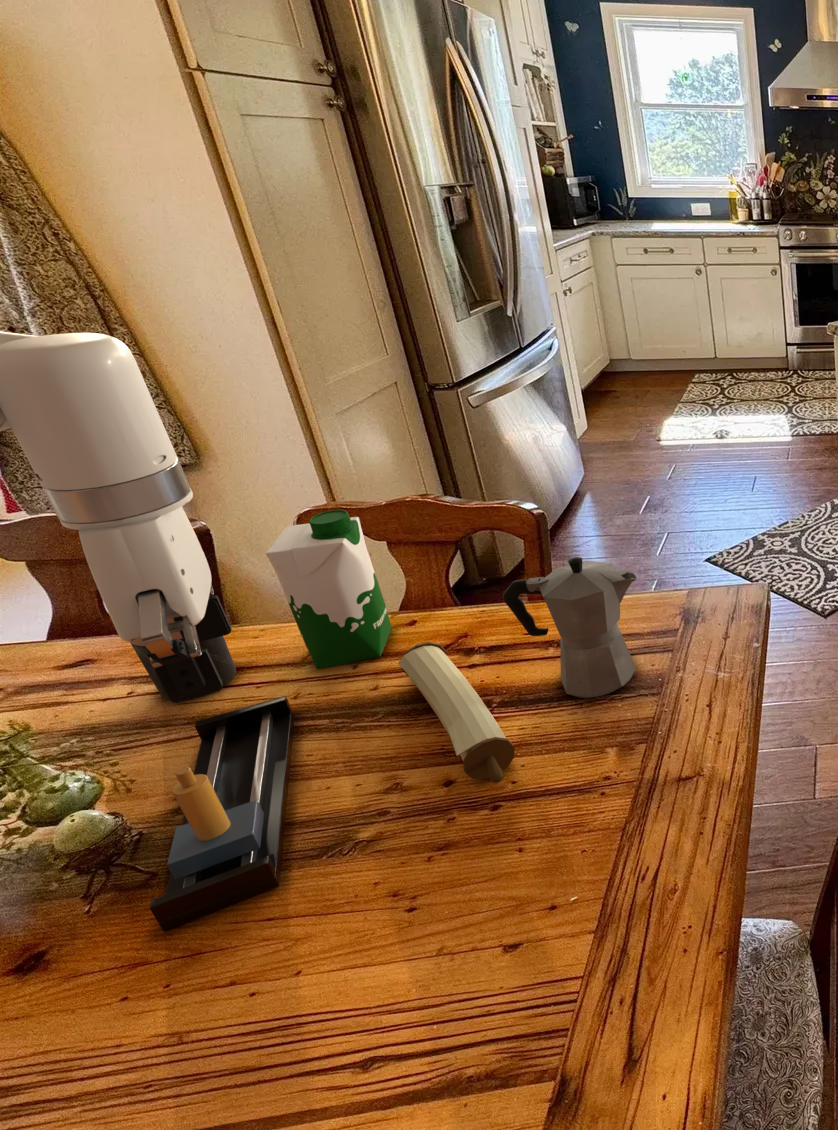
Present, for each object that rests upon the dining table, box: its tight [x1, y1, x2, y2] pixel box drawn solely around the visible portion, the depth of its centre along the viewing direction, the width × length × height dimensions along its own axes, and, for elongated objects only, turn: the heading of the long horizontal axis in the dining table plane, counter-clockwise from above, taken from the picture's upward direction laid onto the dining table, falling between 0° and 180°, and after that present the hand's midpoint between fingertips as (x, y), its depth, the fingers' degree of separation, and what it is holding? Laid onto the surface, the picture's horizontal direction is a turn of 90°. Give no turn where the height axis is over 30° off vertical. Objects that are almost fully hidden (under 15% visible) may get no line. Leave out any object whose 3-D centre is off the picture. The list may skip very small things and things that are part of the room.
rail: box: [149, 695, 295, 932], centre depth 80 cm, size 8×28×3 cm, turn 36°
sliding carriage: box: [166, 766, 264, 879], centre depth 72 cm, size 6×5×10 cm
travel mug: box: [129, 618, 237, 702], centre depth 93 cm, size 8×8×20 cm
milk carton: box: [265, 509, 393, 670], centre depth 101 cm, size 9×9×20 cm
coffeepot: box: [502, 556, 638, 699], centre depth 97 cm, size 15×9×18 cm, turn 104°
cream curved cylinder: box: [397, 641, 515, 784], centre depth 92 cm, size 32×6×5 cm, turn 46°
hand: (204, 665), depth 68 cm, fingers open, 9 cm apart
